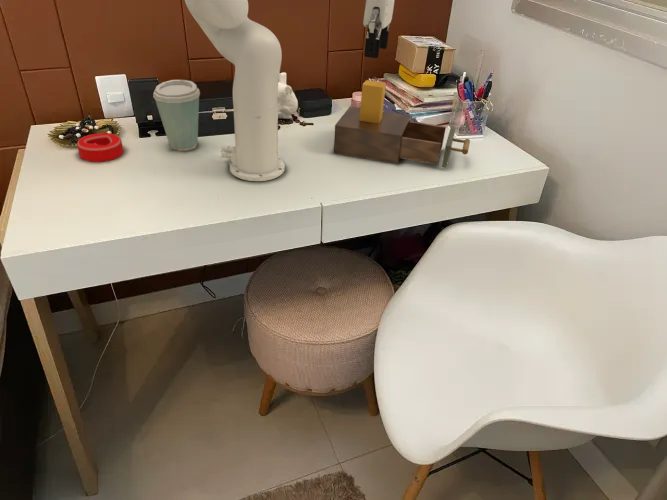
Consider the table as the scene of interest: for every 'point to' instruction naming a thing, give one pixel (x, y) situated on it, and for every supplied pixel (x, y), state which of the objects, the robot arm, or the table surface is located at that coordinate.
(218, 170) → the table surface
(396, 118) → the cabinet
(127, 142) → the table surface
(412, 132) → the drawer
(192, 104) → the disposable coffee cup
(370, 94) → the block
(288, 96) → the white figurine
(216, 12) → the robot arm
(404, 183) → the table surface
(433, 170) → the table surface
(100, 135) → the decorative ornament
